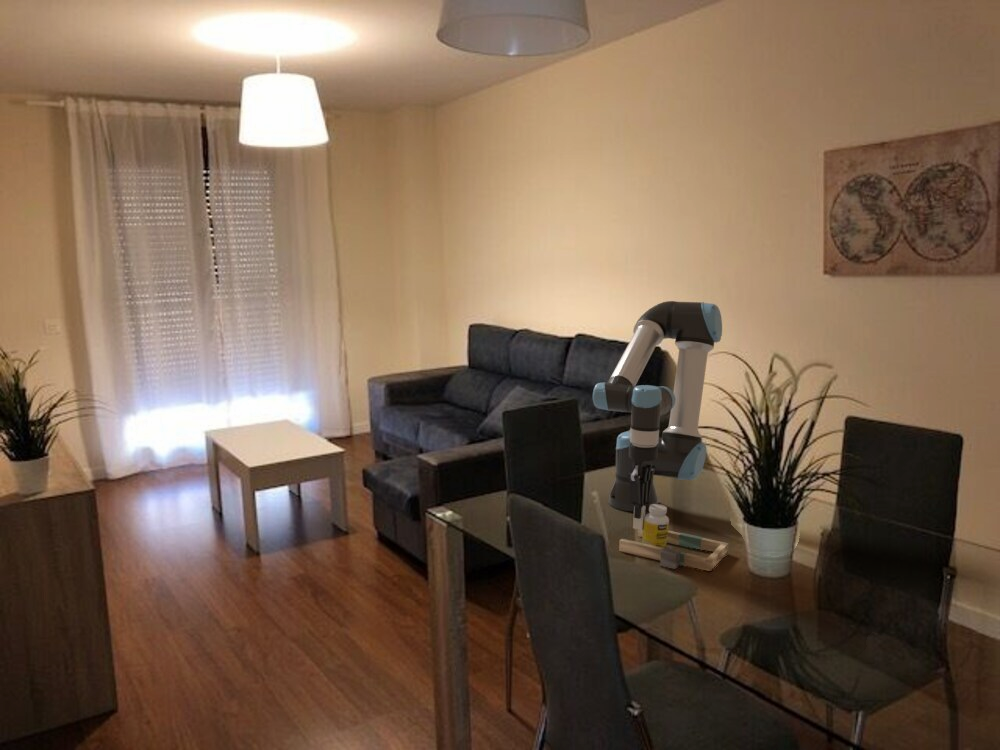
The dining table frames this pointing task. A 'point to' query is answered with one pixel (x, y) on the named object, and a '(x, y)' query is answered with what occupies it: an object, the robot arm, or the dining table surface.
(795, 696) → the dining table surface
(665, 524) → the pill bottle
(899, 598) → the dining table surface
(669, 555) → the beam track
